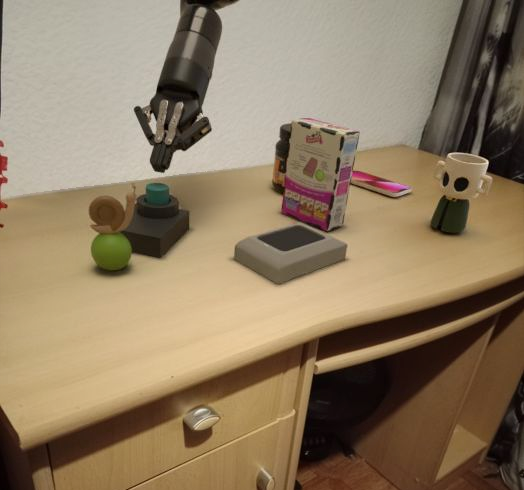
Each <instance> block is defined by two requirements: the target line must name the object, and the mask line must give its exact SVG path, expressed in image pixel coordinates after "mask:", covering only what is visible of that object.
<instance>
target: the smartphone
mask: <svg viewBox="0 0 524 490" xmlns="http://www.w3.org/2000/svg"><path fill="white" fill-rule="evenodd" d="M350 184H353V185H355V186H359V187H362V188H365V189H367V190H371V191H374V192H377V193H379V194H383V195H386V196H389V197H392V198H398V197H401V196H404V195H406V194H408V193H409V194H410V193H411V192H412V187H411V186H409V185H406V184H402V183H400V182H396V181H394V180H390V179H387V178H383V177H380V176H376V175H373V174H371V173H367V172H365V171H361V170H353V172H352V177H351V183H350Z"/></svg>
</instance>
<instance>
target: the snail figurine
mask: <svg viewBox="0 0 524 490" xmlns="http://www.w3.org/2000/svg"><path fill="white" fill-rule="evenodd" d="M131 187H132V189H133V191H129V192H127V193H126V195H125V199H126V204H125V208H124V206H123V204H122V202H120V201H119V200H118V199H117V198H115V197H114V196H111V195H100V196H97V197H95V198H93V200H92V201H91V203H90V204H89V207H88V215H89V218H90V219H91V221H92V222H93V223H95V224H90V225H89V227H90V229H92V230H93V231H94V232H96V233H98V234H97V235H96V236H95V237H94V238H93V239H92V242H91V245H90V255H91V257H92V259H93V261H94V263H95V264H96V265H98V266H99V267H100V268H102V269H104V270H107V271H117V270H121V269H123V268H124V267H125V266H127V265H128V263H129V262H130V261H131V258H132V253H133V252H132V248H131V245H130V242H129V240H128V239H127V238H126V237H125V236H124V235H123V234H121V233H119V232H120V231H122V230H124V229H126V228H127V227H128V226H129V224H130V222H131V220H132V217H133V212H134V207H135V203H136V198H137V197H138V196H137V194H136V189H137V184H136V183H135V182H132V183H131ZM124 211H125V212H124Z"/></svg>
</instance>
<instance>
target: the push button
mask: <svg viewBox="0 0 524 490" xmlns="http://www.w3.org/2000/svg"><path fill="white" fill-rule="evenodd" d="M145 194H146V202H147V203H149V204H154V205H164V204H168V203H169V195H170V185H168V184H166V183H161V182H149V183H147V184H145Z"/></svg>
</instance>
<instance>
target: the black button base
mask: <svg viewBox="0 0 524 490" xmlns="http://www.w3.org/2000/svg"><path fill="white" fill-rule="evenodd" d="M124 212H125V210H124ZM190 213H191V212H190V210H187V209H181V208H180V201H179V199H178V197H176V196H174V195H172V194H169V203H168V204H164V205H154V204H149V203H147V202H146V193H143V194H139V195H138V196H137V197H136V202H135V207H134V212H133V217H132V220H131V222H130V224H129V226H128V227H127V228H126V229H124V230H122V231H120V232H119V233H121V234H123V235H124V236H125V237H126V238H127V239H128V240H129V242H130V245H131V248H132V253H136V254H140V255H144V256H145V255H146V256H150V257H155V258H159V259H160V258H162V257H163V256H164V255H165V254H166V253H167V252H168V251H169V250H170V249H171V248H172V247H173V246H175V244H176V243H177V242H178V241H179V240H180V239H181V238H182V237H183V236H184V235H185V234H186V233H187V232H188V231H189V230H190V215H191V214H190Z"/></svg>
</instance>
